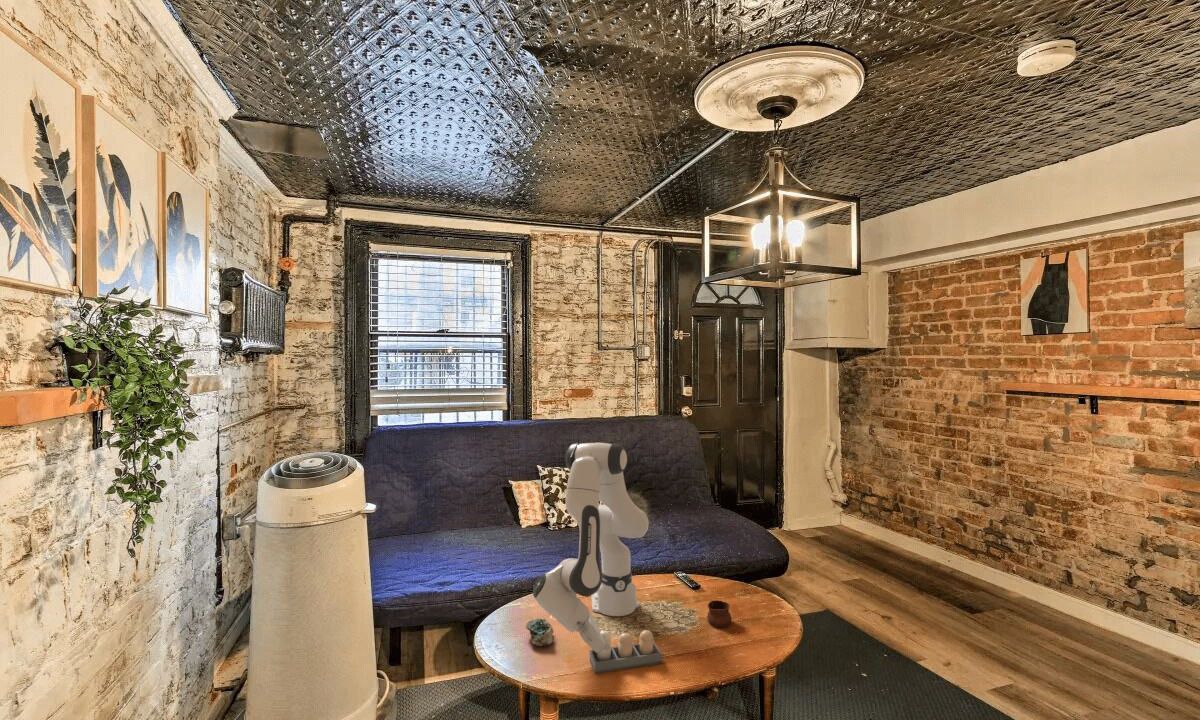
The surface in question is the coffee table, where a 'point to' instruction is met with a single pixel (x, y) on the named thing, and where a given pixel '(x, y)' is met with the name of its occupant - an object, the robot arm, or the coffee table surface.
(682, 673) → the coffee table surface
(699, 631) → the coffee table surface
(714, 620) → the ceramic pot
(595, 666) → the carton
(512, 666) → the coffee table surface
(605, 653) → the cream round-topped peg
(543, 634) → the mineral specimen
